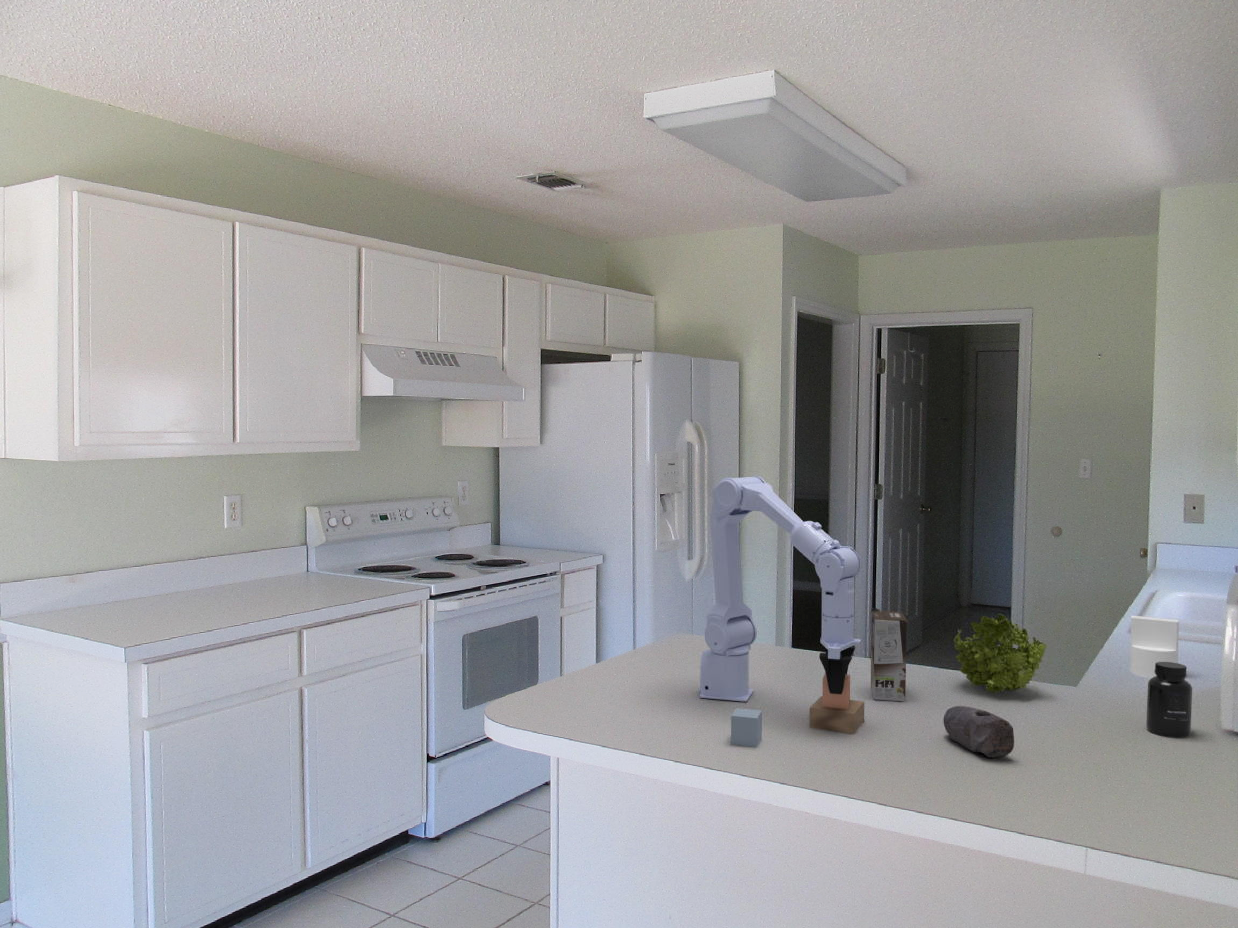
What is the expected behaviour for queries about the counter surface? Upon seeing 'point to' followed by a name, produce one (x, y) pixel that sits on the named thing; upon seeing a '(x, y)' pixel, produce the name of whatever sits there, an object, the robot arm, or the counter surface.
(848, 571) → the robot arm
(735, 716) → the slate-grey block
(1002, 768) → the counter surface
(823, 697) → the terracotta block
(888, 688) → the coffee box
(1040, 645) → the lettuce head
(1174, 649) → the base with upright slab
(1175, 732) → the supplement bottle
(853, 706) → the walnut block
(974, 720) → the perforated stone tool
